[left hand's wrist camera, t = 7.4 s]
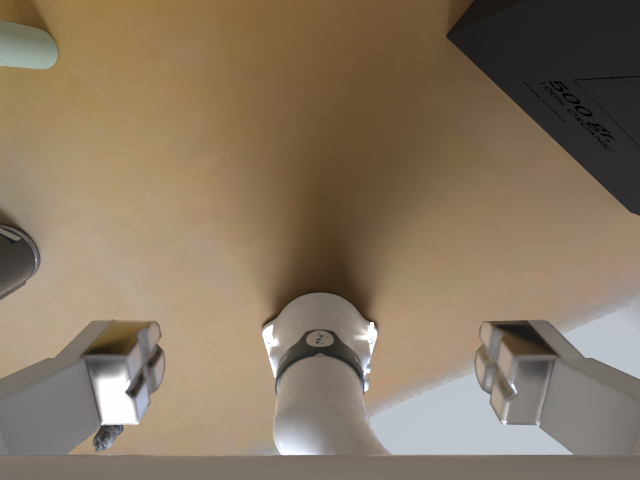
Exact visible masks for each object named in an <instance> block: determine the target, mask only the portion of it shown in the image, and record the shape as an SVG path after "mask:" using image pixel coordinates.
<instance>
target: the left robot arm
mask: <svg viewBox="0 0 640 480" xmlns="http://www.w3.org/2000/svg"><path fill="white" fill-rule="evenodd" d="M262 335H263V338H264V342H265V345H266V349H267V352H268V356H269V359H270V363H271V366H272V370H273V373H274V377H275V382H276V384H275V390H276V395H277V399H276V406H275V414H274V421H273V437H274V441H275V444H276V446H277V448H278V450H279V452H280V453H281V455H66V454H67V453H69V452H70V451H71V450H73V449H74V448H75V447H76V446H78V445H79V444H80V443H81V442H83V441H84V440H85V439H87V438H88V437H89V436H90V435H92V434H93V433H94V432H95V431H97V430H98V429H99V428H101V425H128V424H139V422H140V421H141V419H142V417H143V415H144V413H145V412H146V410H147V408H148V406H149V404H150V397H149V395H150V394H152V393H153V392H155V391H156V390H158V388H159V386H160V384H161V382H162V380H163V376H164V371H165V355H164V351H163V350H162V349H161V348H160V347H159V346H158V345H157V342H158V341H159V339H160V338H161V331H160V326H159V324H158V323H157V322H156V321H139V320H95V321H92V322H91V323H90V324H89V325H88V326H87V327H86V328H85V329H84V330H83V331H82V332H81V333H79V334H78V335H77V336H76V337H75V338H74V339H73V340H72V341H71V342H70V343H69V344H68V345H67V346H66V347H65V348H64V349H63V350H62V351H61V352H60V353H59V354H58V355H57V356H56V357H55V358H47V359H45V360H42V361H40V362H38V363H36V364H33V365H31V366H29V367H27V368H24V369H22V370H20V371H18V372H15V373H13V374H11V375H9V376H6V377H4V378H2V379H0V480H640V379H638V378H636V377H633V376H631V375H629V374H627V373H624V372H622V371H620V370H618V369H615V368H613V367H611V366H609V365H606V364H604V363H602V362H600V361H598V360H595V359H593V358H585V357H584V356H583V355H582V354H581V353H580V352H579V351H578V350H577V349H576V348H575V347H574V346H573V345H572V344H571V343H570V342H569V341H568V340H567V339H566V338H565V337H564V336H563V335H562V334H561V333H560V332H559V331H558V330H557V329H556V328H555V327H554V326H552V325H551V324H550V323H549V322H548V321H545V320H520V321H484V322H482V324H481V326H480V330H479V338H480V339H481V341H482V342H483V345H482V346H481V347H480V348H479V349H478V350H477V351H476V356H475V371H476V376H477V379H478V382H479V384H480V386H481V388H482V390H484V391H485V392H487V393H489V394H490V395H491V397H490V404H491V406H492V408H493V410H494V412H495V413H496V415H497V417H498V419H499V421H500V422H501V424H511V425H539V427H540V428H541V429H542V430H543V431H545V432H546V433H547V434H549V435H550V436H551V437H552V438H554V439H555V440H556V441H557V442H559V443H560V444H561V445H563V446H564V447H565V448H566V449H568V450H569V451H570V452H571V453H573V454H574V455H393V454H392V453H391V452H390V451H389V450H388V449H387V448H386V447H385V446H384V445H383V444H382V443H381V441H380V440H379V439H378V438H377V436H376V435H375V433H374V432H373V430H372V428H371V426H370V423H369V420H368V416H367V412H366V408H365V404H364V398H363V395H364V391H367V390H368V386H369V378H368V377H367V376H366V373H370V369H371V365H370V364H369V362H370V359H371V355H372V352H373V348H374V345H375V341H376V338H377V328H376V326H375V325H374V324H373V322H369V321H367V320H365V319H364V318H363V317H362V316H361V315H360V313H359V312H358V311H357V309H356V308H355V307H354V306H353V305H352V304H351V303H350V302H348V301H347V300H345V299H344V298H342V297H340V296H337V295H334V294H330V293H321V292H319V293H310V294H306V295H303V296H300V297H298V298H296V299H294V300H293V301H291V302H290V303H289V304H288V305H287V306H286V307H285V308H284V309H283V310H282V312H281V313H280V315H279V316H278V317H277V318H276V319H274V320H273V321H271V322H269V323H268V324H266V325H265V326H264V327H263V331H262Z"/></svg>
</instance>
